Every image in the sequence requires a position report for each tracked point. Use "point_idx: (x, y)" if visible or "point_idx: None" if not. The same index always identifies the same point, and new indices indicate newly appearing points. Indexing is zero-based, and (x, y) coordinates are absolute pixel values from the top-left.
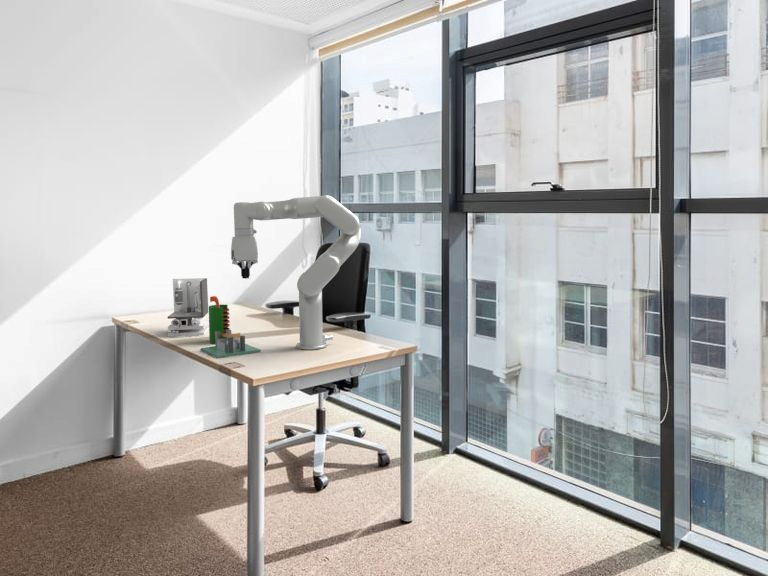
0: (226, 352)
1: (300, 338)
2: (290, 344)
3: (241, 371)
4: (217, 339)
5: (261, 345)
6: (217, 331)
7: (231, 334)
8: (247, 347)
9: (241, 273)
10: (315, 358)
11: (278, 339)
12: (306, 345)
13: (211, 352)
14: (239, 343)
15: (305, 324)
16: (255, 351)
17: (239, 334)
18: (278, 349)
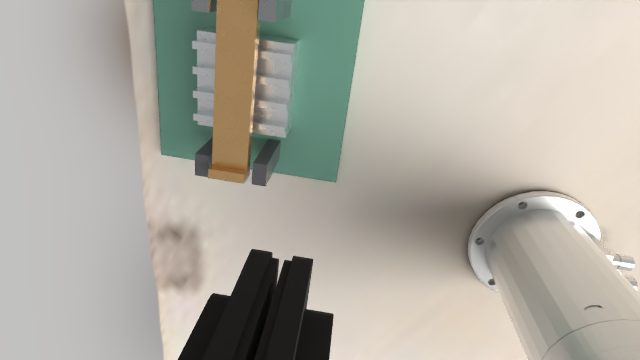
0: (210, 129)
1: (497, 253)
2: (516, 150)
3: (168, 321)
4: (193, 40)
5: (419, 71)
6: (195, 2)
7: (235, 108)
8: (319, 110)
9: (198, 327)
10: (401, 356)
11: (581, 4)
12: (488, 267)
13: (162, 84)
14: (267, 133)
15: (515, 328)
16: (314, 176)
17: (241, 180)
18: (413, 189)
